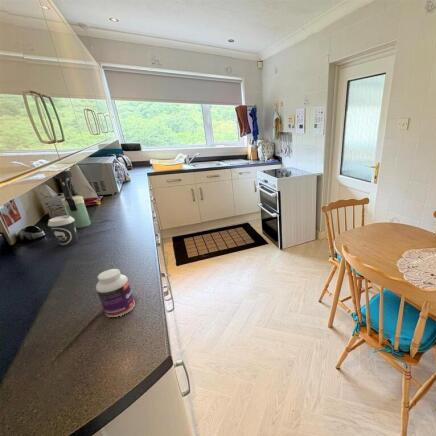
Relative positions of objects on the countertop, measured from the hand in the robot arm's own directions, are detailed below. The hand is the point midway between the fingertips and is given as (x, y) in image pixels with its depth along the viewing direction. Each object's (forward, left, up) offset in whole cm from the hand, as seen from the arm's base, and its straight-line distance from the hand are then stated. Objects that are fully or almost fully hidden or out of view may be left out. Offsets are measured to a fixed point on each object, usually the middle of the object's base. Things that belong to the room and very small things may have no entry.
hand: (75, 208), depth 137 cm
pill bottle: (+68, -74, -11) cm, 101 cm away
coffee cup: (+15, -27, -11) cm, 33 cm away
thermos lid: (0, 0, +6) cm, 6 cm away
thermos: (0, 0, -11) cm, 11 cm away
